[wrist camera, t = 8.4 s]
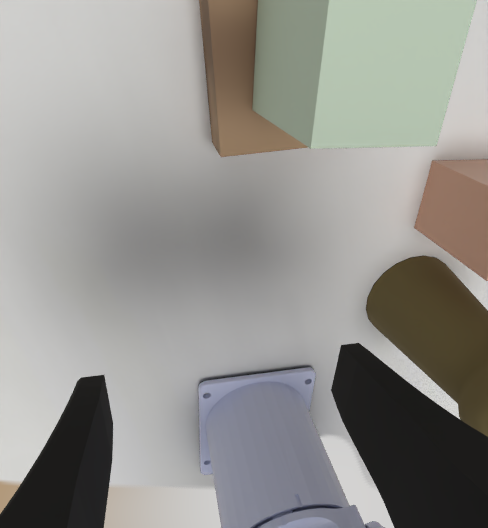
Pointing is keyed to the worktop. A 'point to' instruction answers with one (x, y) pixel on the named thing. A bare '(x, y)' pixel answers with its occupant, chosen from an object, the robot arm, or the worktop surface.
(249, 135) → the walnut board
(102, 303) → the worktop surface
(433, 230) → the terracotta block
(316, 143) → the sage block
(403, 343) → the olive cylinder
